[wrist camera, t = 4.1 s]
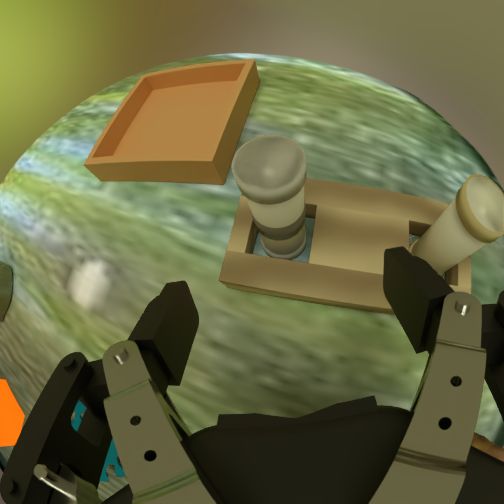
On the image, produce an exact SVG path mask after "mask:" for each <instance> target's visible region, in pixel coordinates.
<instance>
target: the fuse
mask: <svg viewBox="0 0 504 504" xmlns="http://www.w3.org/2000/svg"><path fill="white" fill-rule="evenodd" d="M503 234H504V194H503V192H502V191H501V189H500V188H499V187H498V186H497V185H496V184H495V183H494V182H493V181H492V180H490V179H489V178H487V177H485V176H483V175H479V174H474V175H471V176H470V177H468V179H467V180H466V181H465V182H464V184H463V185H462V186H461V188H460V189H459V190H458V192H457V195H456V198H455V199H454V200H453V201H452V202H451V204H450V205H449V206H448V207H447V208H446V210H445V211H444V212H443V213H442V214H441V215H440V216H439V218H438V219H437V220H436V221H435V222H434V223H433V224H432V225H431V227H430V228H429V229H428V230H427V231H426V232H425V233H424V234H423V235H422V236H421V237H420V238H418V239H417V240H415V241H414V242H413V243H412V245H411V246H410V247H409V252H410V253H411V254H412V255H413V256H417V257H419V258H421V259H423V260H425V261H427V262H428V263H429V264H430V265H431V266H432V267H433V269H435V271H436V272H437V273H438V275H440V276H441V275H442V274H443V273H444V272H445V271H447V270H448V269H450V268H452V267H453V266H455V265H456V264H458V263H459V262H461V261H462V260H464V259H465V258H467V257H468V256H470V255H471V254H473V253H474V252H476V251H477V250H478V249H480V248H481V247H483V246H484V245H486V244H487V243H491V242H494V241H495V240H496V239H498V238H499V237H501V236H502V235H503Z"/></svg>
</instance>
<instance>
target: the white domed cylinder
mask: <svg viewBox="0 0 504 504" xmlns="http://www.w3.org/2000/svg"><path fill="white" fill-rule="evenodd" d="M232 172H233V175H234V178H235V180H236V183H237V185H238V187H239V190H240V191H241V193H242V194H243V195H244V196H245V198H246V200H247V203H248V205H249V208H250V212H251V215H252V217H253V220H254V223H255V225H256V227H257V229H258V231H259V233H260V240H261V243H262V246H263V248H264V250H265V252H266V253H267V255H268V256H270V257H273V258H279V259H286V260H293V259H295V258H297V257H298V256H299V255H300V254H301V253H302V252H303V251H304V249H305V246H306V238H307V234H306V229H305V198H304V184H305V181H306V156H305V153H304V151H303V149H302V148H301V147H300V145H299V144H298V143H296V142H295V141H293V140H292V139H290V138H287V137H284V136H280V135H264V136H259V137H256V138H254V139H251V140H249V141H248V142H246V143H245V144H243V145H242V146H241V147H240V148H239V149H238V151H237V152H236V153H235V155H234V157H233V160H232Z"/></svg>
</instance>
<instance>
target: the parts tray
mask: <svg viewBox="0 0 504 504" xmlns="http://www.w3.org/2000/svg"><path fill="white" fill-rule="evenodd" d="M259 82H260V81H259V76H258V72H257V67H256V63H255V59H253V60H235V61H222V62H213V63H204V64H197V65H190V66H184V67H178V68H172V69H167V70H162V71H157V72H153V73H148V74H144V75H142V77H141V78H140V79H139V80H138V82H137V83H136V84H135V86H134V87H133V88H132V90H131V91H130V92H129V94H128V95H127V96H126V98H125V99H124V100H123V102H122V103H121V105H120V106H119V108H118V109H117V110H116V112H115V113H114V115H113V116H112V118H111V119H110V121H109V123H108V124H107V126H106V127H105V129H104V130H103V132H102V134H101V135H100V137H99V139H98V140H97V142H96V144H95V145H94V147H93V149H92V151H91V152H90V154H89V156H88V158H87V160H86V161H85V163H84V166H85V167H86V168H87V169H88V170H89V171H91V172H92V173H93V174H94V175H95V176H96V177H97V178H98V179H99V180H100V181H155V182H182V183H202V184H217V185H224V183H225V180H226V177H227V174H228V171H229V168H230V164H231V161H232V158H233V155H234V152H235V149H236V147H237V144H238V141H239V138H240V135H241V132H242V129H243V126H244V123H245V121H246V118H247V115H248V112H249V109H250V107H251V104H252V101H253V98H254V96H255V93H256V90H257V88H258V85H259Z"/></svg>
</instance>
